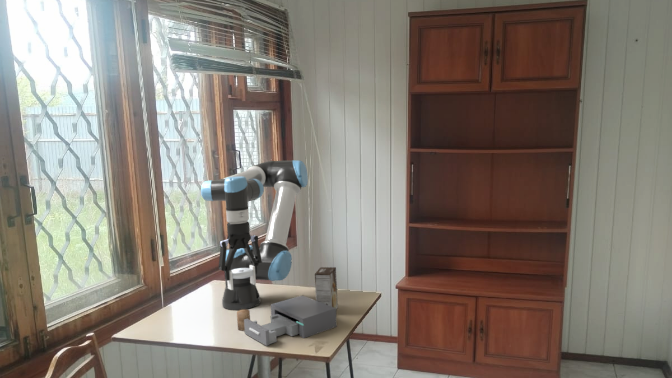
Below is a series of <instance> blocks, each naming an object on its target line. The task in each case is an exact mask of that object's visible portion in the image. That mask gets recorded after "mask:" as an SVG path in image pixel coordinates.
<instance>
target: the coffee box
mask: <svg viewBox="0 0 672 378" xmlns="http://www.w3.org/2000/svg"><path fill="white" fill-rule="evenodd" d="M314 283H315V284H314V285H315V300H316V301H318V302H321V303H324V304H326V305H329V306H331V307H334V308H336V310H337V309H339V307H338V305H339V304H338V287H337V285H338V284H337V267H335V266H334V267H333V266H330V267H328V266H327V267H326V266H325V267H323V266H321V267H319V268H318V270H317V271H316V272H315V273H314Z"/></svg>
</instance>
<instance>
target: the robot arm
mask: <svg viewBox="0 0 672 378" xmlns="http://www.w3.org/2000/svg"><path fill="white" fill-rule="evenodd" d="M308 176H309V175H308V171H307V167H306V165H305V163H304V161H302V160H298V159H297V160H295V159H293V160H269V161H265V162H260V163H258V164H255V165H254V164H253V165H252V166H250V167H248V168H247V169H246V170H245V171H241V172H238V173H236V174H233V175H229V176H227V177H224V178H220V179H216V180H213V179H211V180H205V181H204V182H203V183H202V184H201V188H200V195H201V197H202V198H203V200H205V201H206V202H207V201H210V202H225V212H226V222H227V223H226V230H227V231H226V232H227V239H224V240H220V241H219V242H218V243H219V247H220V248H219V249H220V250H219V257H218V258H219V259H218V260H219V261H218V270H220V271H222V272H224V273H223V274H224V280H225V281H224V282H225V288H224V292H223V295H222V298H221V305H222V308H224V309H226V310H233V311H239V310H249V309H251V308H254V307H256V306H258V305H260V303H261V296H260V293H259V289H258V288H257V286H256V285H257V282H256V281H271V282H275V281H276V282H277V281H283V280H285V279H286V278H287V277H288V275H289V274H290V272H291V268H292V264H293V263H292V259H293V256H292V254H291V252H290V250H289V247H288V245H287V241H288V236H289V232H290V227H291V222H292V217H293V212H294V207H295V203H296V197H297V196H298V195H299V194H301V191H302V188H305V187H307V185H308V182H309V181H308V179H309V177H308ZM265 188H274V190H275V196H274V200H273V204H272V209H271V213H270V217H269V223H268V226H267V230H266V235H265V239H264V240H263V241H262V242H261V243H260V245H259V236H258V235H256V234H255V235H254V234H252V235H251V234H250V231H251V229H250V228H251V227H250V222H249V220H250V218H249V216H250V215H249V213H250V212H249V202H252V201H256V200H258V199H259V198H261V197H262V196H263V195H264V192H265V191H264V190H265ZM250 242H251V245H250V244H249V243H250ZM228 244H229V248H228V249H227V247H228ZM238 268H250V269H253V275H252V276H251V277H248V278H243V279H233V277H232V271H231V270H233V269H238Z"/></svg>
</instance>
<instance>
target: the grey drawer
mask: <svg viewBox="0 0 672 378" xmlns="http://www.w3.org/2000/svg"><path fill="white" fill-rule="evenodd" d="M244 327H245V331H244V334H245V335H247V336H249V337H250V338H252V339H253V340H256V341H257V342H259V343H260V344H263V345H265V346H266V347H267V346H270V345H271V344H274V343H277V342H278V341H277V337H280V336H282V335H285V334H286V335H288V336H290V337H294V336H297V335H299V324H298V323H296V321H294V320H292V319H291V318H286V317H284V316H281V315H279V314H276V315H273V316H271V315H270V322H268V323H266V324H262V325H260V324H259V323H258V321H257V320H251V319H250V320H249V319H244Z"/></svg>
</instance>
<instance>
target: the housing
mask: <svg viewBox="0 0 672 378" xmlns="http://www.w3.org/2000/svg"><path fill="white" fill-rule="evenodd" d="M276 314H279V315H281V316H284V317H286V318H288V319H291V318H293V319H294V320H296V321H295V322H296V323H298V324H299V334H298V335H299V337H301V338H303V339H305V338H308V337H311V336H314V335H317V334H320V333H323V332H325V331H328V330H331V329H333V328H337V309H336V308H334V307H331V306H329V305H326V304H324V303H321V302H318V301H316V299H313V298H310V297H308V296H305V295H303V294H302V295H298V296H295V297H292V298H287V299H285V300H281V301H278V302H275V303H271V304H270V316H273V315H276Z"/></svg>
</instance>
